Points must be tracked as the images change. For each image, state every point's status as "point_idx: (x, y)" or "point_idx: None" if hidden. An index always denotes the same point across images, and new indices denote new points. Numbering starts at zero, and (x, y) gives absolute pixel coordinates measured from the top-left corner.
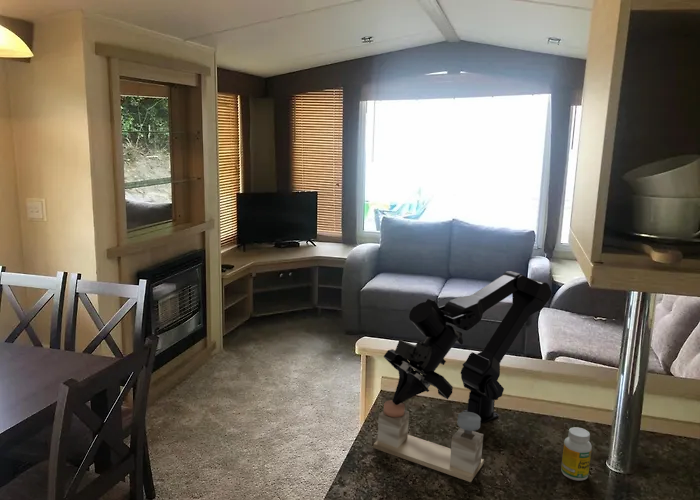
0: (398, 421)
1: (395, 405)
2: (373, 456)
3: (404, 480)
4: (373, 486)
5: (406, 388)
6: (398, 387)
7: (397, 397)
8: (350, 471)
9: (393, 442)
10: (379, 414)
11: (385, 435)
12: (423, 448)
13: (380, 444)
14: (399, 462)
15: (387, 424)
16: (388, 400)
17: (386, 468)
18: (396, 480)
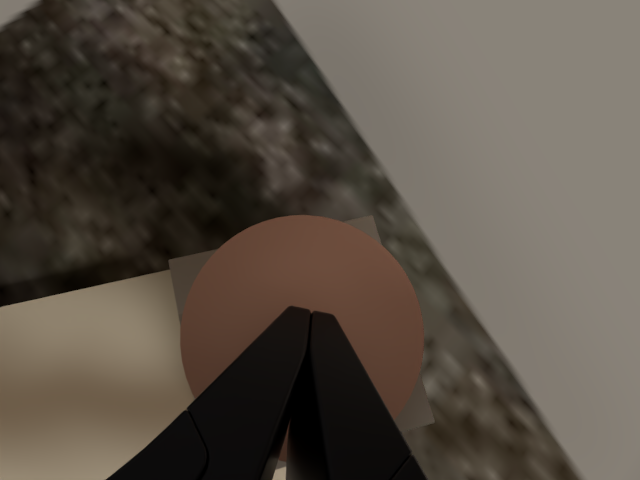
0: (176, 262)
1: None
2: (271, 183)
3: (18, 137)
4: (107, 14)
5: (150, 454)
6: (367, 443)
7: (279, 336)
8: (259, 26)
9: None
10: (365, 217)
11: None
12: (74, 430)
13: None
14: (134, 239)
15: None
16: (421, 356)
17: (151, 151)
18: (50, 111)
